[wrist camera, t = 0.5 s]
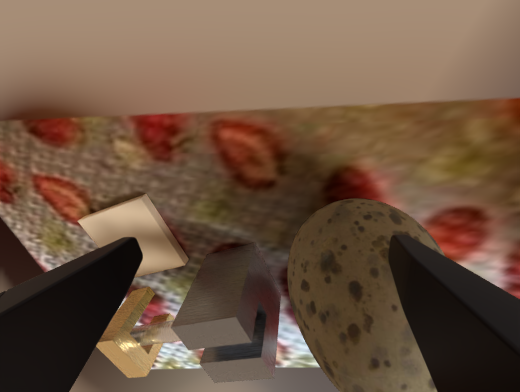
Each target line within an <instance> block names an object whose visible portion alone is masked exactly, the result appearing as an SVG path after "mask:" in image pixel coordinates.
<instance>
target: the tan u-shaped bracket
mask: <svg viewBox="0 0 520 392" xmlns="http://www.w3.org/2000/svg"><path fill="white" fill-rule="evenodd" d="M153 296H154V292H153V291H152V290H151V288H150V287H146V288H142V289H137V290H133V291H132V292H131V294H130V295H129V296H128V298H127V299H126V300H125V302H124V303H123V304H122V306H121V307H120V308H119V310H118V311H117V312H116V314H115V315H114V317H113V318H112V320H111V322H110V323H109V325H108V327H107V328H106V330H105V332H104V334H103V335H102V337H101V339H100V340H99V342H98V344H97V345H96V347H97V348H98V349H99V350H100V351H102V352H103V353H104V354H105V355H106V356H107V357H108V358H109V359H110V360H111V361H112V362H113V363H114V364H115V365H116V366H117V367H118V368H119V369H120V370H121V371H122V372H123V373H124V374H125V375H126V376H127V377H128V378H133V377H144V376H147V375H148V373H149V371H150V369H151V367H152V365H153V363H154V361H155V359H156V357H157V355H158V353H159V351H160V349H161V347H162V345H163V343H161V344H153V345H146V346H140V345H139V344H138V342H137V341H136V340H135V339H134V338H133V337H132V336H131V335H130V334H129V333H130V332H131V330H132V328H133V327H134V325H135V324H136V322H137V321H138V319H139V318H140V316H141V315H142V313H143V311H144V310H145V308H146V307H147V305H148V304H149V302H150V301H151V299H152V297H153ZM170 320H175V319H174V318H173V317H172V315H171V314H164V315H159V316H154V317H153V319H152V321H151V322H150V324H152V323H158V322H164V321H170Z"/></svg>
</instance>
